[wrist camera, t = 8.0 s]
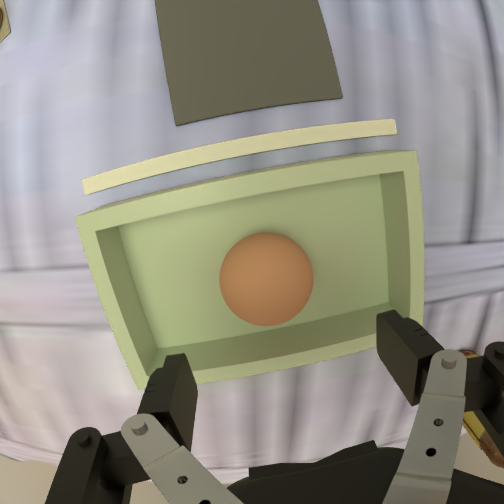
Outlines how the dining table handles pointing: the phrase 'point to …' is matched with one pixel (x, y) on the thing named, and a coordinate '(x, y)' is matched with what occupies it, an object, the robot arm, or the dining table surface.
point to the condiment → (3, 22)
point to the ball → (266, 279)
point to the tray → (247, 223)
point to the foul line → (238, 150)
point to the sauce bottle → (481, 431)
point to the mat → (244, 55)
